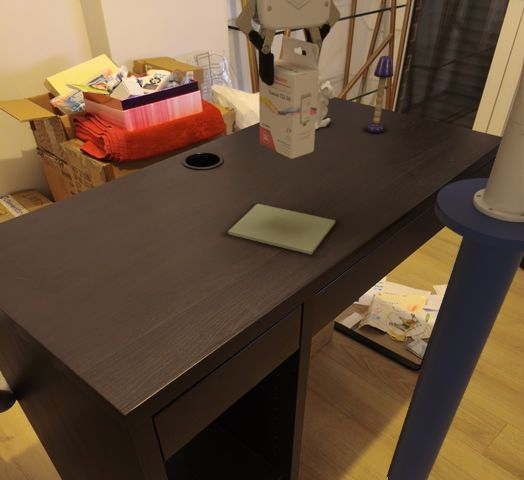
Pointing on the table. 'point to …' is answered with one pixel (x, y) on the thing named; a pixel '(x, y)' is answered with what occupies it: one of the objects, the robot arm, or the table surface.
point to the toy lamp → (380, 90)
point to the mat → (283, 228)
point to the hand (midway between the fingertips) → (287, 79)
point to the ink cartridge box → (290, 101)
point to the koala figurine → (323, 102)
